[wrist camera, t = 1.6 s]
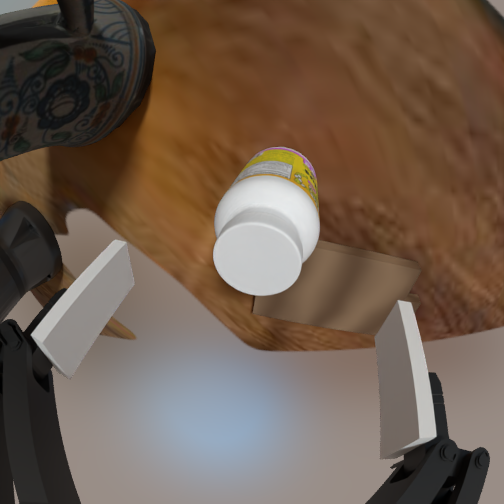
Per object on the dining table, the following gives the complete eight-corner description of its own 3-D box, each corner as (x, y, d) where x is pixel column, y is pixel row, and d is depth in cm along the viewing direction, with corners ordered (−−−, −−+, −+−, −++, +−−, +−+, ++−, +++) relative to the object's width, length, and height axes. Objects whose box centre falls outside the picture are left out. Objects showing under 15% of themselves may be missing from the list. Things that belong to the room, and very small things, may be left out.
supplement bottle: (314, 214, 26) (313, 314, 16) (246, 210, 27) (204, 303, 17) (318, 146, 22) (327, 209, 12) (243, 143, 23) (185, 202, 13)
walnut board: (254, 305, 34) (252, 313, 33) (267, 229, 28) (265, 237, 27) (395, 329, 33) (397, 337, 31) (434, 265, 26) (438, 274, 25)
